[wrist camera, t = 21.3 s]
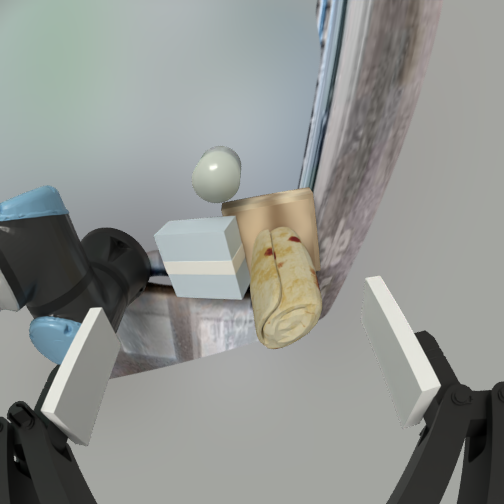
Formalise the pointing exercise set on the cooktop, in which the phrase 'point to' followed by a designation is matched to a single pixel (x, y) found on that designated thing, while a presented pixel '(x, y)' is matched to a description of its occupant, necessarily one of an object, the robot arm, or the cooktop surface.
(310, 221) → the tan square plate
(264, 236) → the food model
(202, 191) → the pale green rounded knob
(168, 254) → the flat box
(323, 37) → the cooktop surface
